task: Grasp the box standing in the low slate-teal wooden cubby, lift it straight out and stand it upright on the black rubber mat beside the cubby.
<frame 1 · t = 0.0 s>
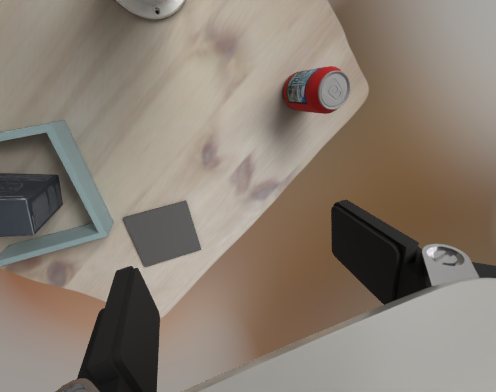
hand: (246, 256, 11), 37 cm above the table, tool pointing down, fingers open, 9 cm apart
beverage can: (296, 91, 46), on the table
cubby: (33, 189, 40), on the table
box: (34, 189, 40), on the table
mat: (165, 233, 49), on the table
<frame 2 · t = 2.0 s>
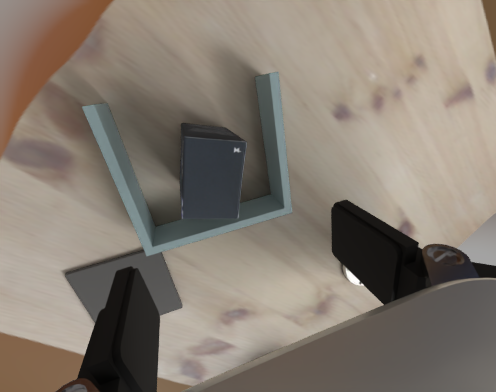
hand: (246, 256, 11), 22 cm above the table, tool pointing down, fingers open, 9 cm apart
cubby: (202, 156, 31), on the table
box: (202, 155, 31), on the table
mat: (130, 290, 35), on the table
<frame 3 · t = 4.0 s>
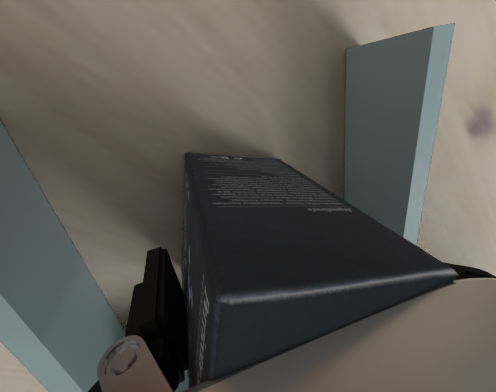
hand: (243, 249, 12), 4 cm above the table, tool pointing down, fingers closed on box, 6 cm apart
cubby: (227, 215, 15), on the table
box: (226, 213, 15), on the table, touching gripper
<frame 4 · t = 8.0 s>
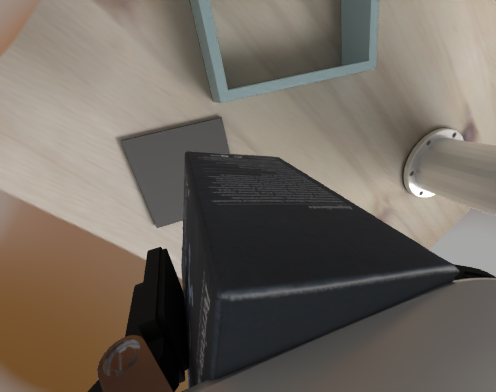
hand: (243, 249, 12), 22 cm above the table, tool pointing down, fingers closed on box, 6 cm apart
box: (226, 212, 15), point 18 cm above the table, touching gripper
mat: (187, 174, 31), on the table
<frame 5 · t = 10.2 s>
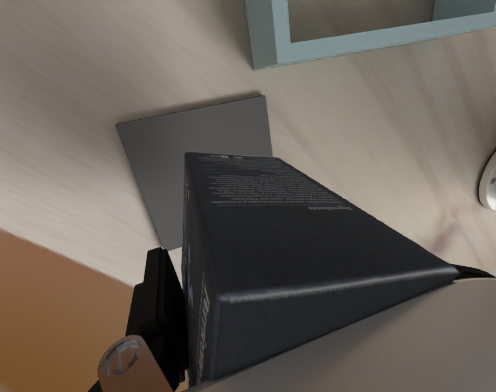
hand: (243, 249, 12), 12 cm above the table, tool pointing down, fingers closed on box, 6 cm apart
box: (226, 213, 15), point 8 cm above the table, touching gripper
mat: (210, 176, 22), on the table
when the fingers open (6 cm above the table, at t = 11.9 s): box drops 1 cm, resting on mat.
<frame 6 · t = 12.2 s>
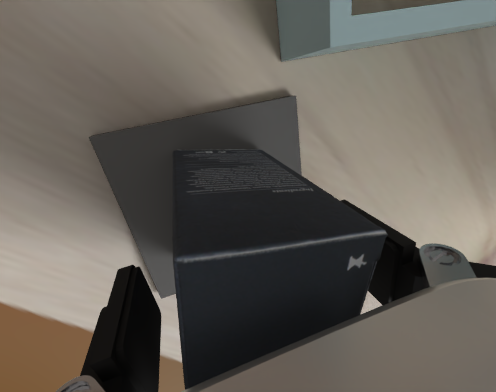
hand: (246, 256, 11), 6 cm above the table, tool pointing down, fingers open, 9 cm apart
box: (218, 204, 16), resting on mat
mat: (221, 202, 17), on the table
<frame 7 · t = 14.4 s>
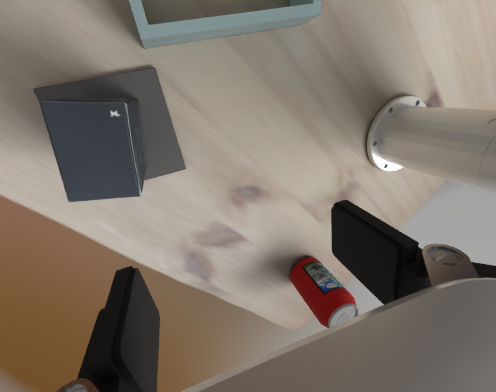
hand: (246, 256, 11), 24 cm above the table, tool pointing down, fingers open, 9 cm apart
beverage can: (302, 268, 47), on the table
box: (117, 134, 28), resting on mat
mat: (121, 133, 28), on the table
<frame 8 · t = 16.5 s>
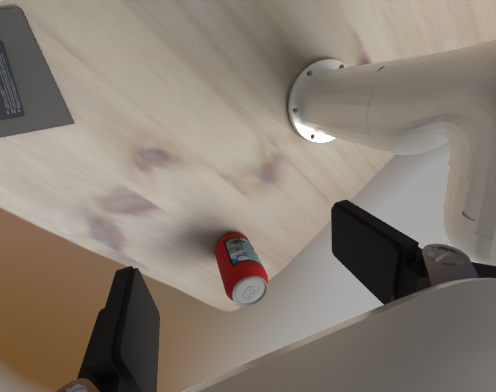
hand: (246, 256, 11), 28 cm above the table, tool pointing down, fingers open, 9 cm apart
beverage can: (231, 245, 45), on the table
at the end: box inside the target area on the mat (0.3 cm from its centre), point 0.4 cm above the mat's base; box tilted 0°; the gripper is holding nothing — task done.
